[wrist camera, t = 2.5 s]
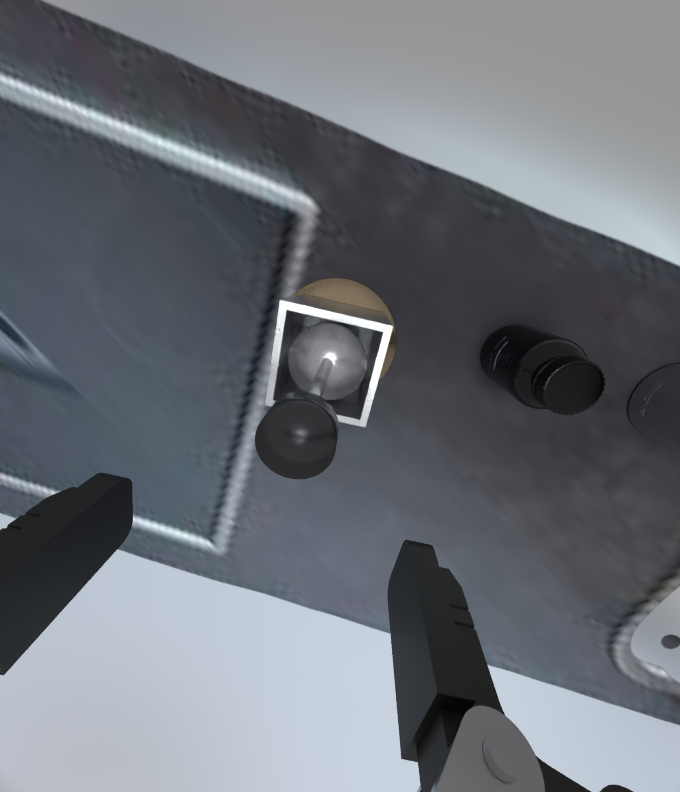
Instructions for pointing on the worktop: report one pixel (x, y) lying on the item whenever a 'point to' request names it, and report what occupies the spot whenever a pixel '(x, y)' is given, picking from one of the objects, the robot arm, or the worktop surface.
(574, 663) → the worktop surface
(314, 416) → the plunger
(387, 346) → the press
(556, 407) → the supplement bottle
